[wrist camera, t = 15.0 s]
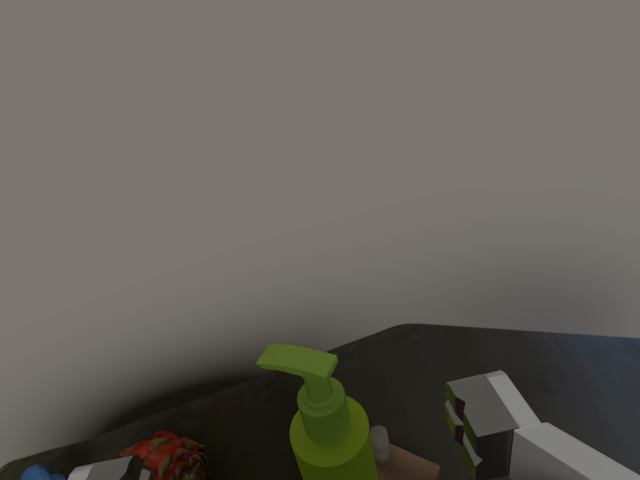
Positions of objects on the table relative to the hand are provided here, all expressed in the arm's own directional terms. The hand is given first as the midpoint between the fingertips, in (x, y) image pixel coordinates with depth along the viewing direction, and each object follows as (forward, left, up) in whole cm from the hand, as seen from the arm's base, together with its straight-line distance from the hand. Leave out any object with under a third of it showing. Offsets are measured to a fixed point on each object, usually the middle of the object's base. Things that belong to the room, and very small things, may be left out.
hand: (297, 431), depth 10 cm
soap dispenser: (-9, -8, -30) cm, 32 cm away
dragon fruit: (-2, -27, -32) cm, 42 cm away
